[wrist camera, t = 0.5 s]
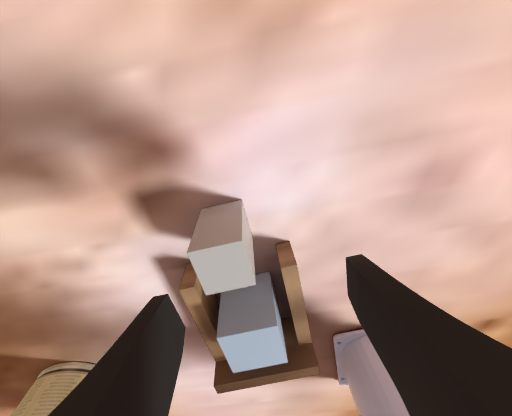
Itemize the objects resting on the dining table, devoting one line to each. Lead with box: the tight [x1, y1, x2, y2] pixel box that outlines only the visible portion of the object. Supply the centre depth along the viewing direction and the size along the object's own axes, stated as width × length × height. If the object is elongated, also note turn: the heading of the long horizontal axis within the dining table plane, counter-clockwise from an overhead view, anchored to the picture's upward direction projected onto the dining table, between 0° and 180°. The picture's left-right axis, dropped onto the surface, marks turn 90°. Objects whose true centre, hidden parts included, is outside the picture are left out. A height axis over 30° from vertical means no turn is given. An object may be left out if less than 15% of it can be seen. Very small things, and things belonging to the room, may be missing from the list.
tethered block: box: [187, 200, 288, 373], centre depth 18 cm, size 12×4×6 cm, turn 13°
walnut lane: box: [179, 241, 320, 394], centre depth 20 cm, size 10×9×5 cm
